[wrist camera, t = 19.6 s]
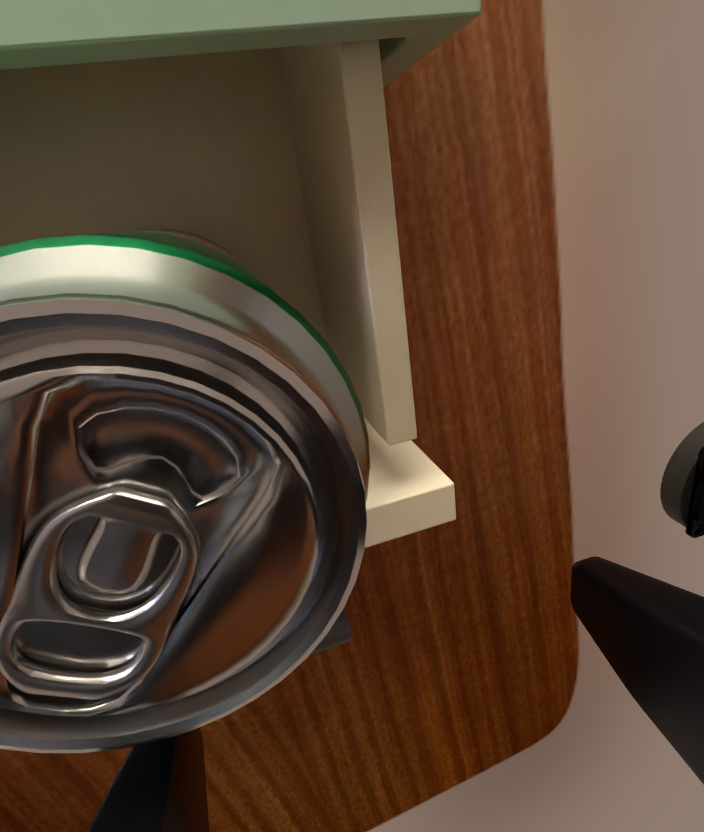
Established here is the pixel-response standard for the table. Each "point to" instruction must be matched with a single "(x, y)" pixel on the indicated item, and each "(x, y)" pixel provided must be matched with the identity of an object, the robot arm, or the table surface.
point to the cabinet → (221, 28)
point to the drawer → (245, 208)
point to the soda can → (163, 488)
